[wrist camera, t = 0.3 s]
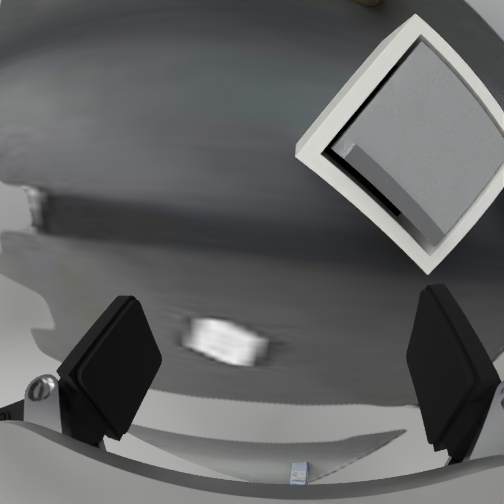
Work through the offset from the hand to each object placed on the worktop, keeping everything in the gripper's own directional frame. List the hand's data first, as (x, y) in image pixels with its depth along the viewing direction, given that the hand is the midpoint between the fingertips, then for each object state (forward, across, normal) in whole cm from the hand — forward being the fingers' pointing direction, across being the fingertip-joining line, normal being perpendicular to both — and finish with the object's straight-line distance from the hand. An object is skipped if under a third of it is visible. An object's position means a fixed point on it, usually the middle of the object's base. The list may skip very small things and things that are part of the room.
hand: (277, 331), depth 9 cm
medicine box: (+31, +1, +84) cm, 89 cm away
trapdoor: (+19, -14, -4) cm, 24 cm away
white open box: (+30, -14, -4) cm, 33 cm away
